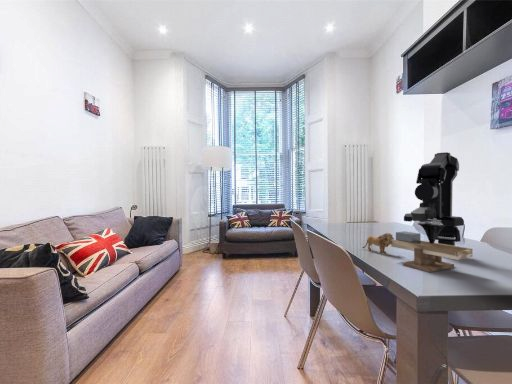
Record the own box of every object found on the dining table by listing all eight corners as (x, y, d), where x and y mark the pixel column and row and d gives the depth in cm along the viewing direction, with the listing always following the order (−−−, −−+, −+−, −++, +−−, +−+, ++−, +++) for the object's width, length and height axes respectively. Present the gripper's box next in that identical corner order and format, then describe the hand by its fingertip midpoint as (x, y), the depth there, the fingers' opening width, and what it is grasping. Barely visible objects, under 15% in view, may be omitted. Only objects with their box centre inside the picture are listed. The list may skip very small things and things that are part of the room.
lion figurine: (396, 253, 126) (396, 233, 126) (389, 255, 123) (389, 234, 123) (365, 248, 138) (365, 229, 138) (358, 249, 135) (358, 230, 134)
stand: (427, 260, 114) (427, 242, 113) (454, 266, 105) (454, 247, 104) (402, 265, 108) (402, 246, 107) (428, 272, 98) (428, 251, 98)
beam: (405, 244, 119) (405, 237, 119) (472, 256, 96) (472, 248, 96) (391, 246, 115) (390, 239, 115) (457, 259, 93) (457, 251, 93)
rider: (404, 242, 117) (404, 231, 117) (420, 245, 111) (420, 233, 111) (395, 243, 115) (395, 232, 115) (412, 246, 109) (411, 234, 109)
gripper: (393, 199, 109) (393, 241, 110) (443, 201, 92) (443, 250, 93) (413, 198, 114) (413, 238, 114) (464, 200, 97) (464, 247, 97)
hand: (431, 243), depth 105 cm, fingers closed
